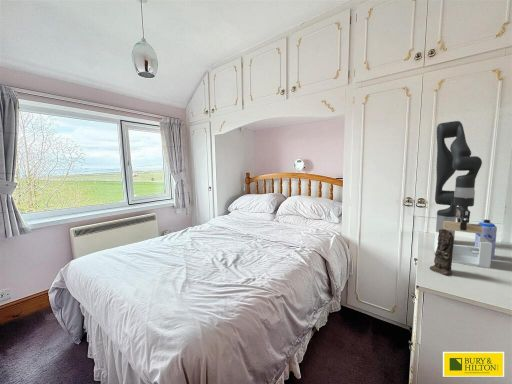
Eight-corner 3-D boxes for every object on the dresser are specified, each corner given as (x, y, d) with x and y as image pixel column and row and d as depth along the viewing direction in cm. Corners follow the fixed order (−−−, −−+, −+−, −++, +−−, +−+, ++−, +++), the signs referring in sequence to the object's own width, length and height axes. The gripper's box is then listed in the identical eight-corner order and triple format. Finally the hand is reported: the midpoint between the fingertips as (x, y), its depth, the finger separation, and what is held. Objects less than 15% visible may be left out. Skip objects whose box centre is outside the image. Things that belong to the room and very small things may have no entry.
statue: (429, 269, 103) (431, 228, 101) (438, 266, 105) (441, 226, 103) (445, 275, 96) (449, 232, 94) (455, 273, 99) (458, 230, 97)
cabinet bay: (433, 252, 123) (435, 231, 122) (481, 259, 113) (483, 236, 112) (437, 260, 113) (439, 237, 112) (489, 268, 103) (492, 243, 102)
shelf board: (443, 227, 118) (443, 220, 118) (479, 231, 109) (480, 224, 109) (443, 229, 114) (444, 222, 113) (481, 233, 105) (482, 226, 105)
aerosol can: (499, 259, 112) (502, 221, 110) (481, 258, 113) (484, 221, 111) (486, 254, 119) (489, 218, 117) (469, 253, 121) (472, 218, 119)
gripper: (450, 194, 118) (448, 224, 119) (457, 197, 106) (455, 231, 107) (469, 195, 114) (467, 226, 115) (479, 198, 102) (476, 233, 103)
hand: (461, 228), depth 111 cm, fingers closed on shelf board, 5 cm apart
